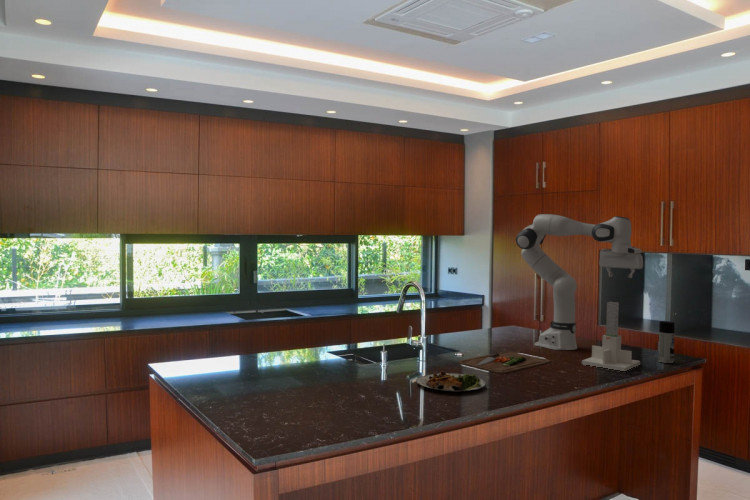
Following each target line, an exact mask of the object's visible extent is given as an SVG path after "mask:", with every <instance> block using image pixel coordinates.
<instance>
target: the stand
mask: <svg viewBox="0 0 750 500" xmlns="http://www.w3.org/2000/svg"><path fill="white" fill-rule="evenodd" d="M601 340H602V341H601V343H602V345H601V346H599V345H591V356H590V357H588V358H585V359H582V360H581V365H582V364H583V365H582V366H586V365H590V366H589V367H592V366H596V367H595V368H597V367H603V368H608V369H607V370H609V369H614V370H620V371H627V370H629V369H631V368H633V367H635V368H637V367H639V366H638V365H640V366H641V361H640V360H636V359H632V358H633V357H632V355H633V351H632V350H626V349H622V335H618V336H617V337H610V336H606V334H604V335H602V339H601ZM636 366H637V367H636ZM603 368H602V369H603ZM633 369H634V368H633ZM614 370H613V371H614ZM631 370H632V369H631ZM620 371H619V372H620ZM629 371H630V370H629ZM627 372H628V371H627Z"/></svg>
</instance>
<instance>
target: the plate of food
mask: <svg viewBox="0 0 750 500" xmlns="http://www.w3.org/2000/svg"><path fill="white" fill-rule="evenodd" d="M477 375H478V373H477V372H476V373H473V374H469V373H463V374H462V373H454V372H453V373H448V372H445V371H439V373H432V374H431V373H430V374H425V375H421V376H420V377H417V378H416V383H417V384H418V385H421V386H423V387H426V388H428V389H429V388H430V389H433V390H438V391H445V392H453V393H455V392H456V393H459V392H467V391H471V390H479V389H481V388H483V387H485V385H486V381H485V380H484V379H482V378H480V377H477ZM427 384H428V385H429V386H428V385H427Z"/></svg>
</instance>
